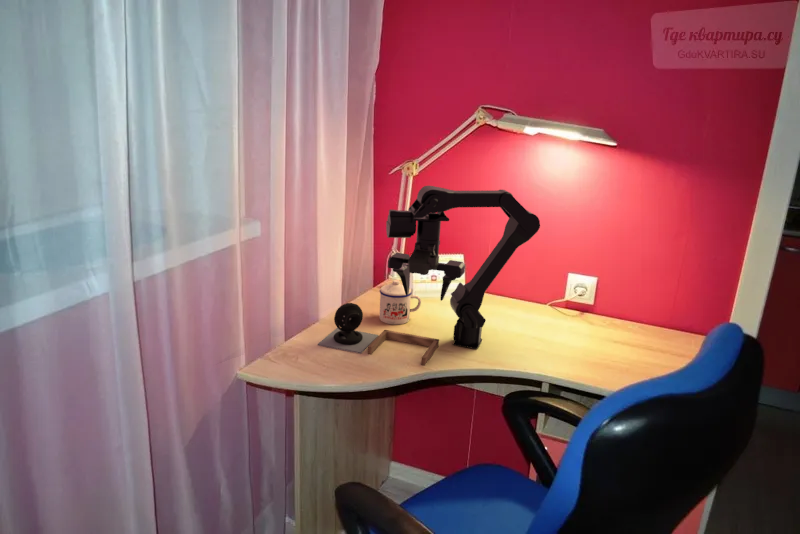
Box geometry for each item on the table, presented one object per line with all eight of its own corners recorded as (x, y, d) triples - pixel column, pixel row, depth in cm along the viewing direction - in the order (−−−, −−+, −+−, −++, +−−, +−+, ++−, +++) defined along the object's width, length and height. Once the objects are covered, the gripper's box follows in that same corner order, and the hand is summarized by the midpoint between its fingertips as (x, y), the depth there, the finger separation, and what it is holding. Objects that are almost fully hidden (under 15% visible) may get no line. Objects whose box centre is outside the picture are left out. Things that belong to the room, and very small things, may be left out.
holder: (438, 346, 155) (439, 339, 154) (425, 365, 144) (425, 357, 144) (384, 336, 160) (384, 329, 159) (367, 354, 149) (367, 346, 148)
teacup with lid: (380, 325, 167) (381, 285, 163) (377, 313, 175) (378, 275, 172) (422, 325, 168) (424, 286, 165) (417, 313, 177) (419, 276, 174)
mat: (378, 336, 160) (378, 334, 159) (361, 353, 149) (361, 352, 148) (337, 328, 163) (337, 327, 163) (317, 345, 152) (317, 343, 152)
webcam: (340, 347, 151) (341, 310, 148) (328, 336, 157) (329, 300, 154) (368, 342, 154) (369, 306, 152) (355, 331, 161) (356, 296, 158)
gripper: (381, 240, 143) (378, 301, 148) (456, 250, 138) (451, 313, 142) (396, 230, 153) (393, 288, 158) (467, 239, 148) (462, 299, 152)
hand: (424, 297), depth 152 cm, fingers open, 9 cm apart
